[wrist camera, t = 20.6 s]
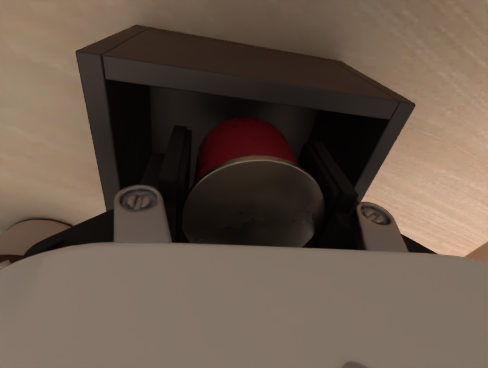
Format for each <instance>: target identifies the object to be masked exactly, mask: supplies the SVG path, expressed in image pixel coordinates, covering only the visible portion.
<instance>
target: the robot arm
mask: <svg viewBox="0 0 488 368" xmlns="http://www.w3.org/2000/svg"><path fill="white" fill-rule="evenodd" d="M191 145H192V130H188V127H187V126H179V125H174V128H173V131H172V134H171V138H170V141H169V144H168V148H167V151H166V153H156V152H153V153H152V154H151V157H150V159H149V162H148V165H147V167H146V170H145V172H144V175H143V177H142V180H141V183H140V185H133V186H129V187H126V188H124V189H122V190H121V191H119V192H118V193H117V194H116V196H115V198H114V209H111V210H109V211H107V212H105V213H102V214H100V215H98V216H96V217H93V218H91V219H89V220H86V221H84V222H82V223H80V224H77V225H75V226H73V227H71V228H68V229H66V230H64V231H62V232H59V233H57V234H55V235H52V236H50V237H48V238H46V239H43V240H41V241H40V242H38V243H36V244H34V245H33V246H32V247H31V248H29V249H28V250H27V251H26V253H25V254H24V255H23V257H22V259H21V260H19V261H16V262H14V263H10V261H9V260H6V261H4V262H1V263H0V368H488V262H484V261H480V260H476V259H472V258H466V257H460V256H453V255H441V254H437V253H435V252H433V251H431V250H430V249H428V248H426V247H424V246H422V245H421V244H419V243H417V242H415V241H413V240H412V239H410V238H408V237H406V236H404V235H402V234H401V233H400V231H399V229H398V226H397V224H396V222H395V219H394V218H393V216H392V215H391V214H390V213H389V212H388V211H387V210H385V209H384V208H383V207H381V206H379V205H377V204H374V203H370V202H361V203H359V202H358V200H357V198H358V196H359V195H358V193H357V192H356V190H355V189H354V188H353V186H352V185H351V183H350V182H349V180H348V179H347V178H346V176H345V175H344V173H343V172H342V171H341V169H340V168H339V166H338V165H337V163H336V162H335V161H334V159H333V158H332V156H331V155H330V153H329V152H328V151H327V149H326V148H325V146H324V145H323V143H321V142H315V141H309V142H308V143H307V144H304V145H303V147H302V150H301V153H300V156H299V159H298V165H299V166H301V167H302V168H304V169H305V170H306V171H308V172H309V173H310V174H311V175H312V176H313V178H314V179H315V180H316V182H317V184H318V185H319V187H320V189H321V191H322V194H323V197H324V203H325V210H324V216H323V219H322V221H321V223H320V225H319V227H318V229H317V231H316V233H315V234H314V236H313V237H312V238H311V239H310V240H309V241H308V242H307V243H306V244H305V245H306V247H307V248H295V247H271V246H247V245H221V244H194V243H182V236H183V228H182V214H183V202H184V198H185V196H186V194H187V192H188V190H189V181H190V163H191Z"/></svg>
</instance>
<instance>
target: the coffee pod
mask: <svg viewBox="0 0 488 368" xmlns="http://www.w3.org/2000/svg"><path fill="white" fill-rule="evenodd" d="M324 210H325V203H324V197H323V194H322V191H321V189H320V187H319V185H318V184H317V182H316V180H315V179H314V178H313V176H312V175H311V174H310V173H309V172H308V171H306V170H305V169H304V168H302V167H301V166H299V165H298V162H297V160H296V158H295V156H294V154H293V152H292V150H291V148H290V146H289V144H288V142H287V140H286V138H285V136H284V135H283V134H282V132H281V131H280V130H279V129H278V128H277V127H275V126H274V125H272V124H271V123H269V122H267V121H264V120H261V119H258V118H252V117H239V118H234V119H230V120H227V121H225V122H223V123H220V124H219V125H217V126H216V127H214V128H213V129H212V130H210V131H209V132H208V133H207V135H206V136H205V137H204V138H203V140H202V142H201V144H200V146H199V149H198V152H197V159H196V168H195V177H194V183H193V185H192V186H191V187H190V189H189V190H188V192H187V194H186V196H185V198H184V202H183V214H182V228H183V231H184V233H185V236H186V237H187V239H188V240H189V242H190V243H194V244H221V245H247V246H271V247H295V248H301V247H302V246H303V245H305V244H306V243H307V242H308V241H309V240H310V239H311V238H312V237H313V236H314V234H315V233H316V231H317V229H318V227H319V225H320V223H321V221H322V219H323V216H324Z"/></svg>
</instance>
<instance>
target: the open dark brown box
mask: <svg viewBox="0 0 488 368" xmlns="http://www.w3.org/2000/svg"><path fill="white" fill-rule="evenodd" d="M76 57H77V62H78V67H79V72H80V77H81V83H82V88H83V93H84V98H85V103H86V108H87V113H88V118H89V124H90V129H91V134H92V139H93V144H94V149H95V154H96V159H97V165H98V170H99V175H100V180H101V185H102V190H103V195H104V200H105V206H106V211H109V210H111V209H114V198H115V196H116V194H117V193H118V192H119V191H121V190H122V189H124V188H126V187H129V186H133V185H140V183H141V180H142V177H143V175H144V172H145V170H146V167H147V165H148V162H149V159H150V157H151V154H152V153H153V152H156V153H166V151H167V148H168V144H169V141H170V138H171V134H172V131H173V128H174V125H179V126H187V127H188V130H192V145H191V163H190V181H189V189H190V187H191V186H192V185H193V183H194V177H195V168H196V159H197V152H198V149H199V146H200V144H201V142H202V140H203V138H204V137H205V136H206V135H207V133H208V132H209V131H210V130H212V129H213V128H214V127H216V126H217V125H219V124H220V123H223V122H225V121H227V120H230V119H234V118H239V117H252V118H258V119H261V120H264V121H267V122H269V123H271V124H272V125H274V126H275V127H277V128H278V129H279V130H280V131H281V132H282V134H283V135H284V136H285V138H286V140H287V142H288V144H289V146H290V148H291V150H292V152H293V154H294V156H295V158H296V160H297V162H298V159H299V156H300V153H301V150H302V147H303V145H304V144H307V143H308V142H309V141H315V142H321V143H323V145H324V146H325V148H326V149H327V151H328V152H329V153H330V155H331V156H332V158H333V159H334V161H335V162H336V163H337V165H338V166H339V168H340V169H341V171H342V172H343V173H344V175H345V176H346V178H347V179H348V180H349V182H350V183H351V185H352V186H353V188H354V189H355V190H356V192H357V193H358V195H359V196H358V198H357V200H358V202H359V203H360V202H361V200H362V198H363V197H364V195H365V193H366V191H367V190H368V188H369V186H370V184H371V183H372V181H373V179H374V177H375V176H376V174H377V172H378V170H379V169H380V167H381V165H382V163H383V162H384V160H385V158H386V156H387V155H388V153H389V151H390V149H391V148H392V146H393V144H394V142H395V141H396V139H397V137H398V135H399V134H400V132H401V130H402V128H403V127H404V125H405V123H406V121H407V120H408V118H409V116H410V114H411V113H412V111H413V109H414V107H415V103H413V102H411V101H410V100H408V99H406V98H404V97H403V96H401V95H399V94H397V93H396V92H394V91H392V90H390V89H389V88H387V87H385V86H383V85H382V84H380V83H378V82H376V81H375V80H373V79H371V78H369V77H368V76H366V75H364V74H362V73H361V72H359V71H357V70H355V69H353V68H352V67H350V66H348V65H346V64H345V63H343V62H342V61H336V60H331V59H325V58H319V57H314V56H308V55H303V54H297V53H292V52H286V51H280V50H275V49H269V48H264V47H258V46H252V45H247V44H241V43H236V42H230V41H224V40H219V39H213V38H208V37H202V36H196V35H191V34H185V33H180V32H174V31H168V30H163V29H157V28H152V27H146V26H140V25H134V26H132V27H130V28H128V29H125V30H123V31H121V32H118V33H116V34H114V35H112V36H109V37H107V38H105V39H102V40H100V41H98V42H95V43H93V44H91V45H89V46H86V47H84V48H82V49H79V50H77V51H76ZM182 243H190V242H189V240H188V239H187V237H186V236H185V233H184V231H183V236H182ZM301 248H307V247H306V245H303V246H302V247H301Z"/></svg>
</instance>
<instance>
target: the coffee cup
mask: <svg viewBox="0 0 488 368" xmlns="http://www.w3.org/2000/svg"><path fill="white" fill-rule="evenodd" d="M68 228H71V227H70V226H68V225H65V224H62V223H59V222H54V221H48V220H29V221H24V222H21V223H18V224H16V225H14V226H12V227H11V228H9V229H8V230H7V231H6V232H5V233H4V234H3V235H2V236H1V237H0V263H1V262H4V261H6V260H9V261H10V263H14V262H16V261H19V260H21V259H22V257H23V255H24V254H25V253H26V251H27V250H28V249H29V248H31V247H32V246H33V245H34V244H36V243H38V242H40V241H41V240H43V239H46V238H48V237H50V236H52V235H55V234H57V233H59V232H62V231H64V230H66V229H68Z"/></svg>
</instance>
